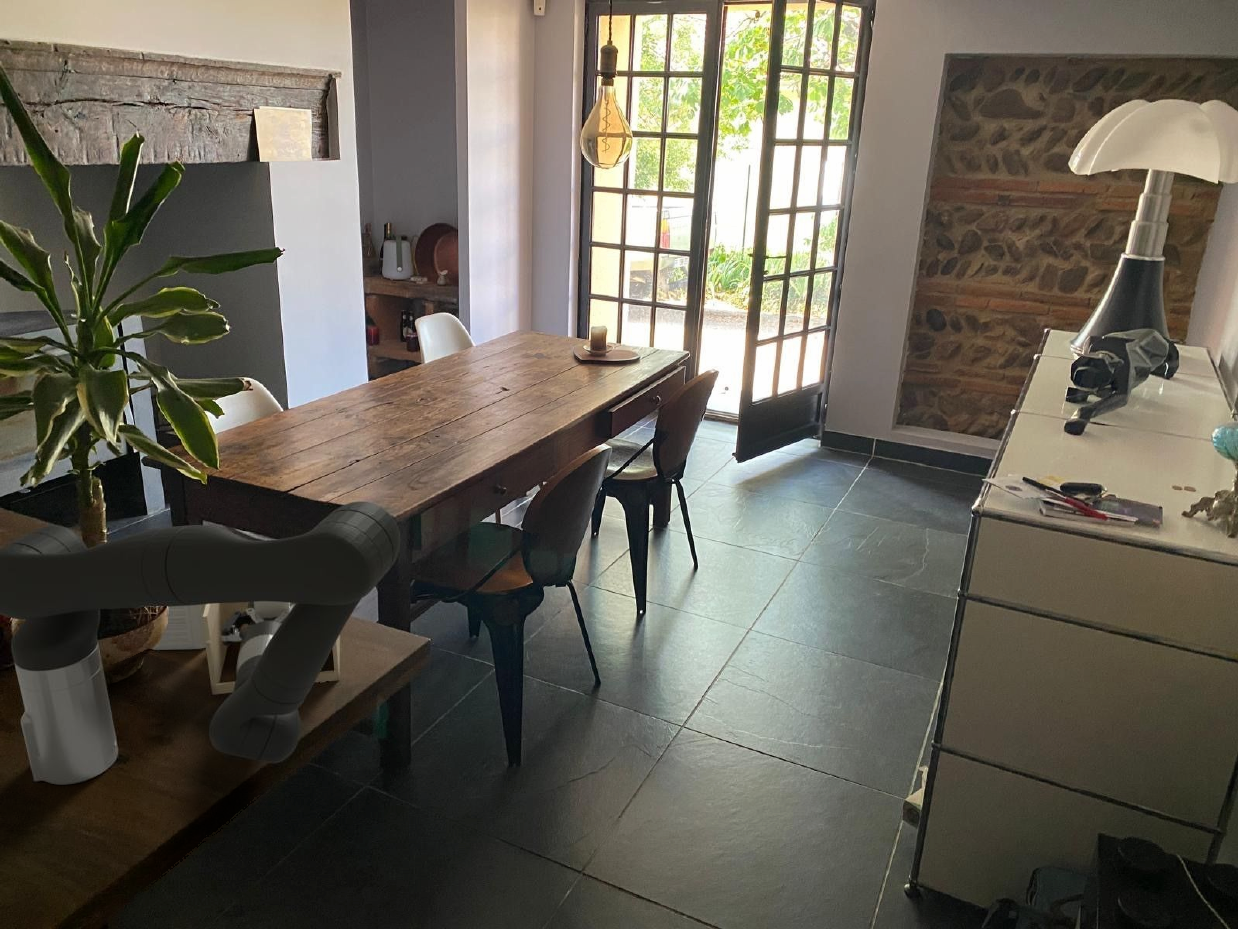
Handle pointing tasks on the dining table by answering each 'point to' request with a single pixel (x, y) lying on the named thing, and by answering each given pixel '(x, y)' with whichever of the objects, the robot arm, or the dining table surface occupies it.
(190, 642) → the photo printer
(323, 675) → the storage bin
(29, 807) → the dining table surface
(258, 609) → the box
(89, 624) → the robot arm
